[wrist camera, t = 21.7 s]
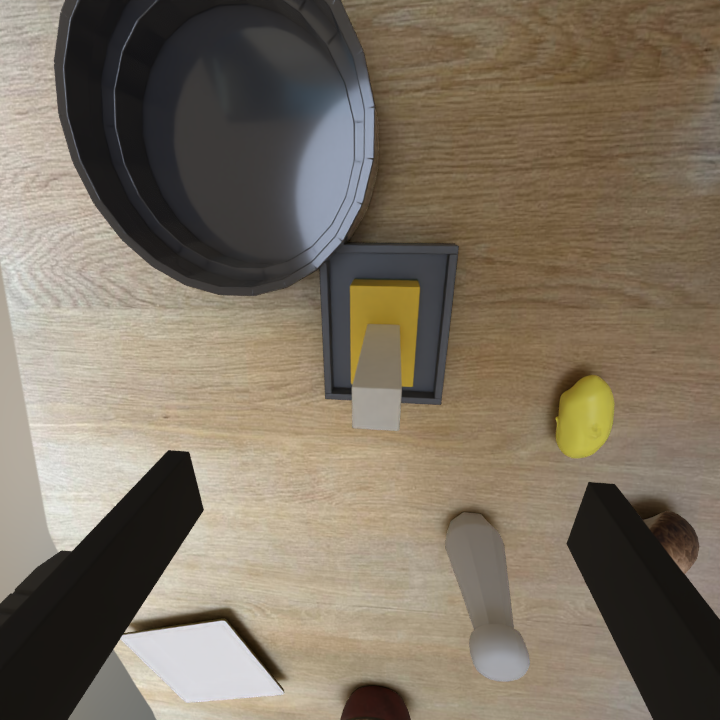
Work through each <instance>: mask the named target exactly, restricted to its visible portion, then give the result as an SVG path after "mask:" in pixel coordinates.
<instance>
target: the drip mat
mask: <svg viewBox="0 0 720 720" xmlns="http://www.w3.org/2000/svg"><path fill="white" fill-rule="evenodd" d="M458 249H459V246H458V245H456V244H446V243H355V242H347V243H346V244H344V245H343V246H342V247H341V248H340V249H339V251H338V252H337V253H336V254H335V255H334V256H333V258H331V259H330V260H329V261H328V262H326V263H325V264H324V265H323V266H321V267H320V291H321V313H322V335H323V358H324V380H325V399H336V400H352V385H353V384H351V351H350V285H351V283H352V282H353V280H354V278H388V279H418V282H419V286H420V297H419V311H418V325H417V338H416V352H415V365H414V379H413V387H403V386H402V396H401V403H415V404H434V405H441V398H442V390H443V382H444V373H445V364H446V355H447V346H448V338H449V329H450V320H451V311H452V302H453V294H454V285H455V276H456V267H457V258H458V255H457V254H458Z"/></svg>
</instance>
